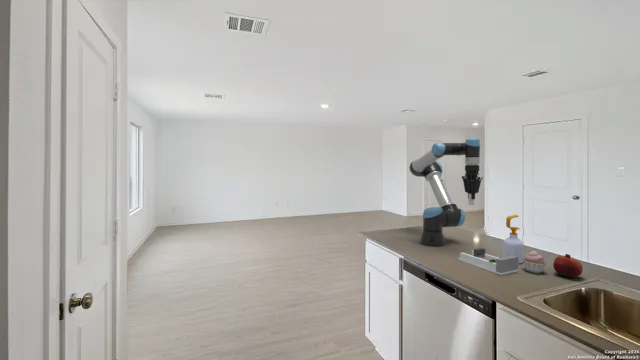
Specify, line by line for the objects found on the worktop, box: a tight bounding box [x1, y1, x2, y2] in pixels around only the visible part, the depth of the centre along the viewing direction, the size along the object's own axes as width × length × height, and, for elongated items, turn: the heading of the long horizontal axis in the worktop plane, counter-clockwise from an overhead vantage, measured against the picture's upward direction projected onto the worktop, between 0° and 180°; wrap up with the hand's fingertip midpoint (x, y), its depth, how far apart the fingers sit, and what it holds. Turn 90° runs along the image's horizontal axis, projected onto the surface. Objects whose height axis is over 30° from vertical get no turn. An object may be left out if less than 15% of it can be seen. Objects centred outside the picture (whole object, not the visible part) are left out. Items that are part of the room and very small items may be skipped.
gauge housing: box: [457, 249, 519, 276], centre depth 147 cm, size 24×12×7 cm, turn 23°
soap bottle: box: [502, 214, 525, 264], centre depth 153 cm, size 9×9×25 cm
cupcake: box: [523, 250, 547, 274], centre depth 138 cm, size 9×9×10 cm
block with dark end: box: [473, 247, 499, 263], centre depth 145 cm, size 13×9×6 cm
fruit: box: [552, 253, 584, 278], centre depth 132 cm, size 11×10×10 cm
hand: (471, 204), depth 171 cm, fingers closed
